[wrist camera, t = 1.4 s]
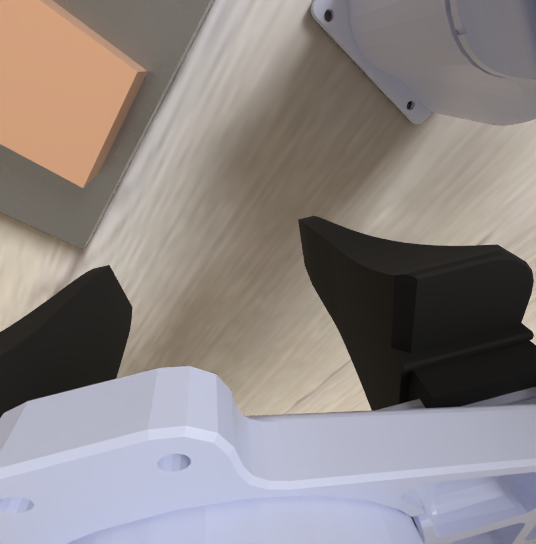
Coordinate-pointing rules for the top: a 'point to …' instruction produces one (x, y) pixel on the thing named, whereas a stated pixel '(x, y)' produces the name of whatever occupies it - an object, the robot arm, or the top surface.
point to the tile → (61, 89)
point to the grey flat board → (161, 72)
